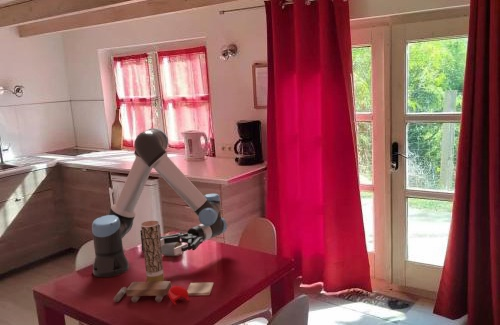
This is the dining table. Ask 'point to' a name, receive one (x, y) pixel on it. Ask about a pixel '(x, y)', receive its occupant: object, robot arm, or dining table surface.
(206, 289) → the coaster
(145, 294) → the brown toy skateboard
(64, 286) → the dining table surface
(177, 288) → the red rounded piece
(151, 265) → the bark-patterned canister
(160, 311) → the dining table surface
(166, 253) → the ceramic mug
